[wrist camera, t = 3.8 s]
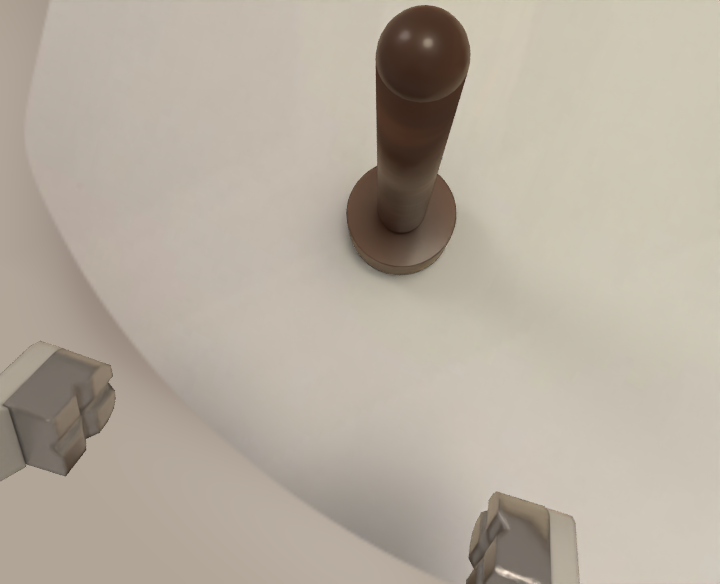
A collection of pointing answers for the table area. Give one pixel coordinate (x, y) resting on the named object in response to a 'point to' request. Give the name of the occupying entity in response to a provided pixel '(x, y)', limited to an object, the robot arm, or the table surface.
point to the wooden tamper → (411, 143)
